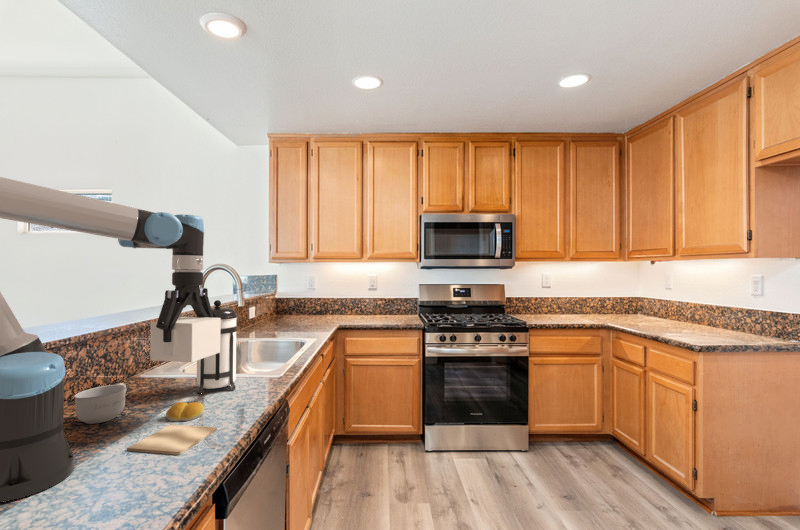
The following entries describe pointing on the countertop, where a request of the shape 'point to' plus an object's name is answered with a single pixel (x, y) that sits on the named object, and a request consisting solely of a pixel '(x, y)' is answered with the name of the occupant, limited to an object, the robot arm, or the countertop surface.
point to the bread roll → (185, 411)
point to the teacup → (100, 403)
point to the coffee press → (220, 354)
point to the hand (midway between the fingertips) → (186, 349)
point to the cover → (188, 339)
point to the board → (172, 439)
